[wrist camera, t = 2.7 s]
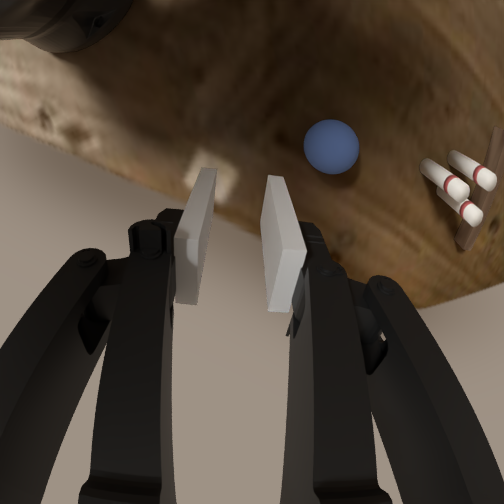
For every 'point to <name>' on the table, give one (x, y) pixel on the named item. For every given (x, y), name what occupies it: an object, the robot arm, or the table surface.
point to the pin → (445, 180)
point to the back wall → (497, 161)
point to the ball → (331, 146)
